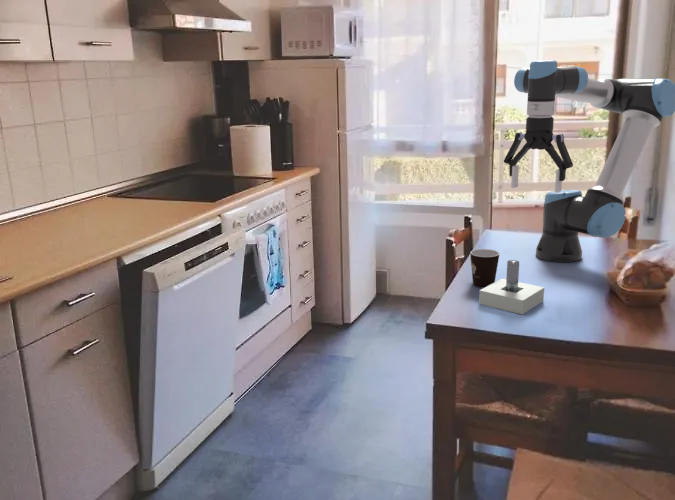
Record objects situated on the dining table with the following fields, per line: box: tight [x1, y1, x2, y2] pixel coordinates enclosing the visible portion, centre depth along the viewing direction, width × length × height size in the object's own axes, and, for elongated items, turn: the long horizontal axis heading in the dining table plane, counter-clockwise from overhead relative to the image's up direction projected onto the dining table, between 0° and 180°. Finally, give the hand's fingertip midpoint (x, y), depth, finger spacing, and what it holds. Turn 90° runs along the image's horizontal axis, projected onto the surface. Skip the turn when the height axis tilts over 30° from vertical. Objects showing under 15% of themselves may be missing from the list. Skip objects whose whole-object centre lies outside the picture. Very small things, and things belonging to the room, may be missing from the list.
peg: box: [505, 259, 520, 293], centre depth 176 cm, size 3×3×12 cm
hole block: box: [478, 278, 545, 315], centre depth 177 cm, size 13×13×4 cm
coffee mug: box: [469, 248, 500, 289], centre depth 193 cm, size 12×9×10 cm
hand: (535, 189), depth 186 cm, fingers open, 13 cm apart
